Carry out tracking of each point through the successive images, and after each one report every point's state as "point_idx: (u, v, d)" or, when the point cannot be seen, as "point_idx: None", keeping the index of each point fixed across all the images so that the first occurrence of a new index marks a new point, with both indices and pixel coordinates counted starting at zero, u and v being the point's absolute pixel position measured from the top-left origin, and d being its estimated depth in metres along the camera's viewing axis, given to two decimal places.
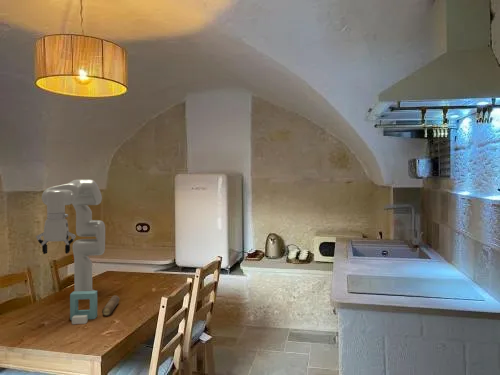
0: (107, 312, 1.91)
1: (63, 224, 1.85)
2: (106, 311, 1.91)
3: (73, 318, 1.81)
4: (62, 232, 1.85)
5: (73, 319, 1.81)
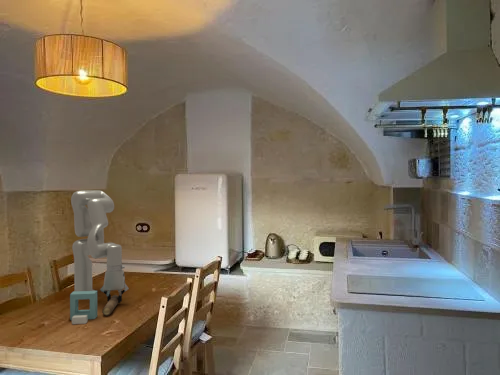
0: (107, 312, 1.91)
1: (121, 275, 2.09)
2: (106, 311, 1.91)
3: (73, 318, 1.81)
4: (120, 282, 2.09)
5: (73, 319, 1.81)
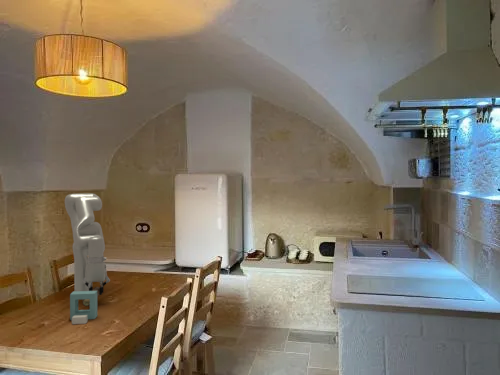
0: (87, 302, 1.93)
1: (102, 267, 2.11)
2: (86, 301, 1.93)
3: (73, 318, 1.81)
4: (101, 274, 2.11)
5: (73, 319, 1.81)
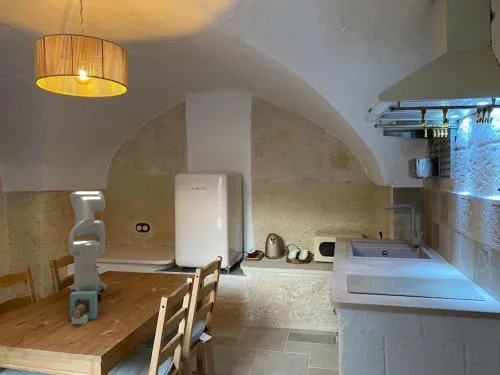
0: (77, 314, 1.78)
1: (95, 275, 1.96)
2: (75, 313, 1.78)
3: (73, 318, 1.81)
4: (94, 282, 1.96)
5: (73, 319, 1.81)
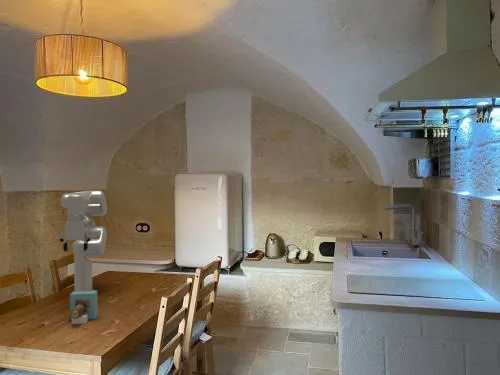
0: (75, 314, 1.78)
1: (82, 225, 2.08)
2: (74, 313, 1.78)
3: (73, 318, 1.81)
4: (81, 232, 2.08)
5: (73, 319, 1.81)
